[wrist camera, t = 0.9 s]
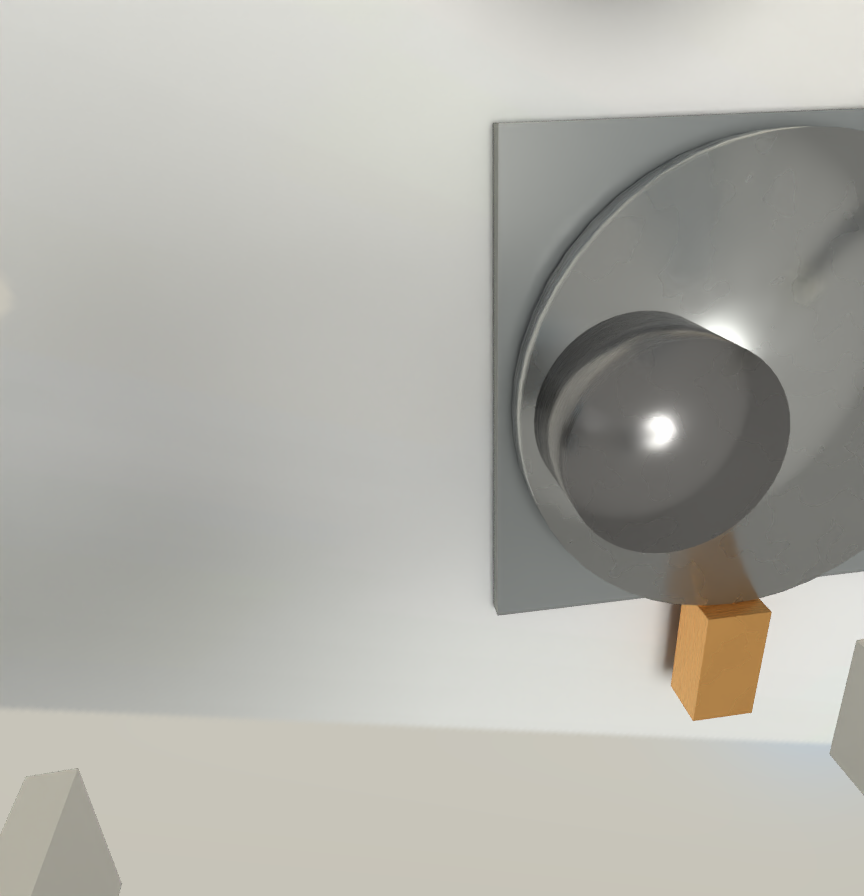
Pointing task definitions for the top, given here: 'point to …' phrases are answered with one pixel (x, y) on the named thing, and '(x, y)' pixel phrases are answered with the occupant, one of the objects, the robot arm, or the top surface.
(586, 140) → the base plate
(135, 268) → the top surface
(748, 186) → the turntable
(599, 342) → the dark grey bowl
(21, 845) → the robot arm
